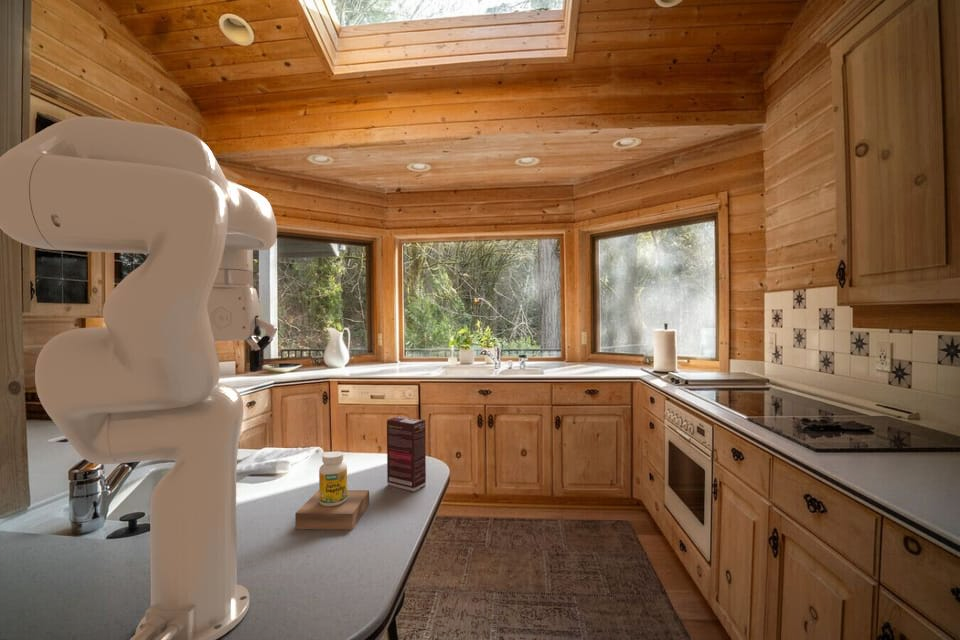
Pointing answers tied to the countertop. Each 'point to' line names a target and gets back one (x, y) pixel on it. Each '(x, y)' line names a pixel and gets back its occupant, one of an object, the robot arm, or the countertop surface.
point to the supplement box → (406, 453)
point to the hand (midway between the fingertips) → (231, 370)
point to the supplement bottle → (333, 479)
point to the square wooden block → (332, 512)
